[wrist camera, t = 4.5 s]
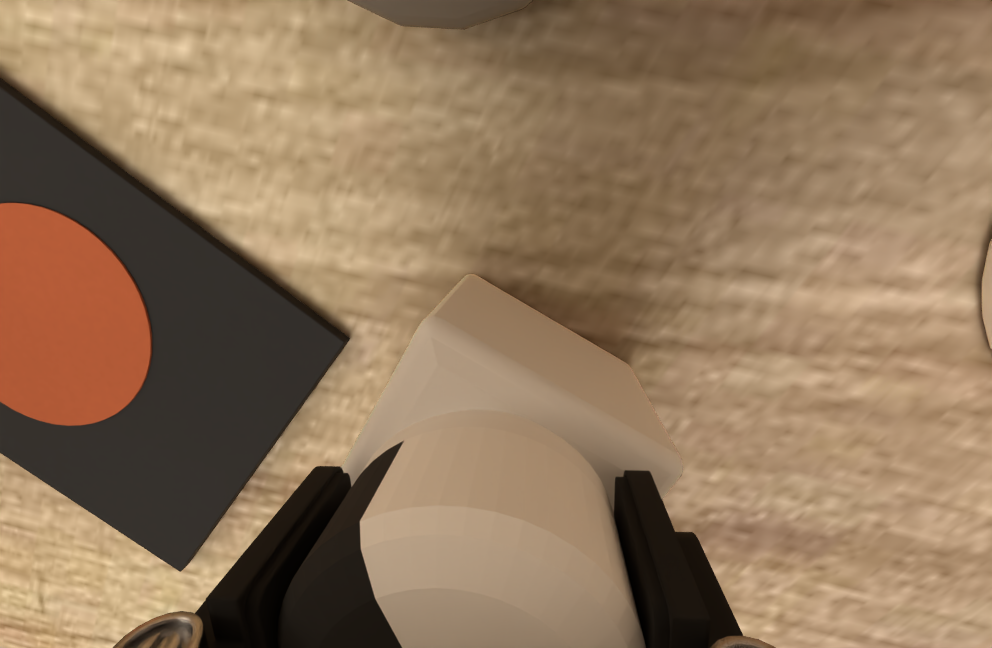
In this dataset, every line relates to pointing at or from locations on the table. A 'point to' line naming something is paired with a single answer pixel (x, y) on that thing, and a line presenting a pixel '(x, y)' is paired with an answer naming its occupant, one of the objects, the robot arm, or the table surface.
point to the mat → (136, 343)
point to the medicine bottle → (485, 493)
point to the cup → (441, 11)
